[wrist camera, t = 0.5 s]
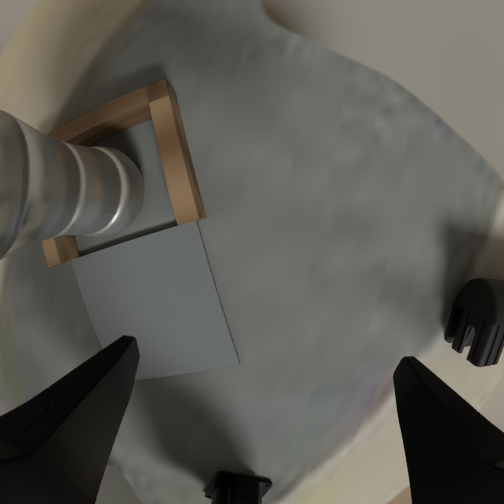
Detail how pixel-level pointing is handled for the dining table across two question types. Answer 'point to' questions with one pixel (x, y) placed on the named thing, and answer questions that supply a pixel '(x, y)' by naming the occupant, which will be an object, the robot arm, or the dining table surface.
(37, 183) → the plastic bottle
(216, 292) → the felt coaster
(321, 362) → the dining table surface
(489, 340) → the end cap
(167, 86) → the walnut collar
